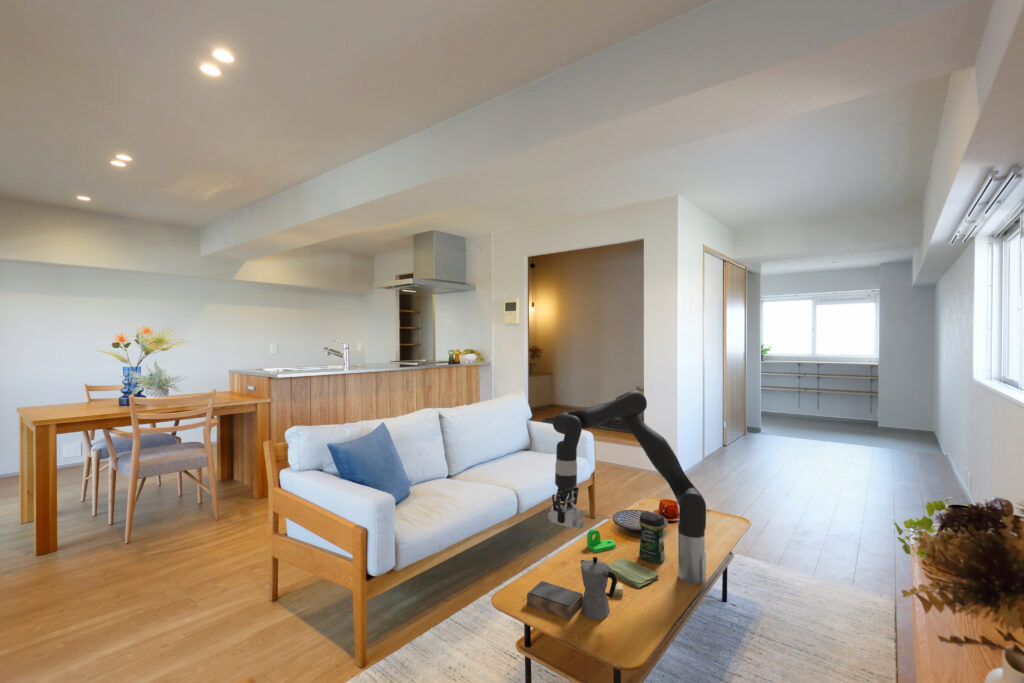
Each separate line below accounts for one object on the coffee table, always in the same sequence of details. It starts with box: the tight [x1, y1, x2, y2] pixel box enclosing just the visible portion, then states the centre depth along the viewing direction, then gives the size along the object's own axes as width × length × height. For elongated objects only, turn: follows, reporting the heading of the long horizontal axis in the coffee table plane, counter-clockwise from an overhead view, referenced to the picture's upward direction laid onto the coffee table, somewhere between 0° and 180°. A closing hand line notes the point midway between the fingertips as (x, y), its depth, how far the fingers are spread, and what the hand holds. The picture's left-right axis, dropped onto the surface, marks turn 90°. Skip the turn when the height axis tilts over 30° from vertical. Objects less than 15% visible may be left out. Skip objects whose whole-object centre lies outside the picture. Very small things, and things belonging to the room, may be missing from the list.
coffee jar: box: [638, 510, 666, 564], centre depth 191 cm, size 10×8×19 cm
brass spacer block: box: [613, 582, 624, 598], centre depth 165 cm, size 4×4×3 cm
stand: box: [526, 580, 584, 621], centre depth 158 cm, size 16×10×4 cm, turn 57°
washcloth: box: [607, 557, 660, 589], centre depth 178 cm, size 13×18×3 cm
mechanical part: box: [586, 528, 617, 554], centre depth 201 cm, size 12×6×8 cm, turn 115°
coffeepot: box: [579, 556, 618, 620], centre depth 153 cm, size 15×9×18 cm, turn 39°
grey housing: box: [547, 505, 584, 530], centre depth 164 cm, size 5×13×5 cm, turn 51°
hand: (565, 520), depth 164 cm, fingers closed on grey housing, 5 cm apart
